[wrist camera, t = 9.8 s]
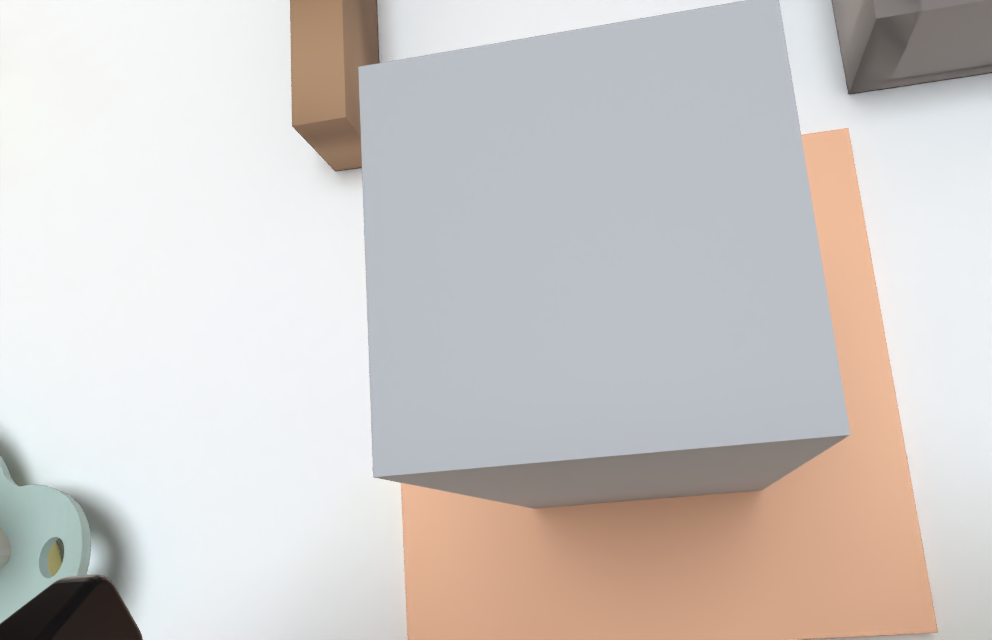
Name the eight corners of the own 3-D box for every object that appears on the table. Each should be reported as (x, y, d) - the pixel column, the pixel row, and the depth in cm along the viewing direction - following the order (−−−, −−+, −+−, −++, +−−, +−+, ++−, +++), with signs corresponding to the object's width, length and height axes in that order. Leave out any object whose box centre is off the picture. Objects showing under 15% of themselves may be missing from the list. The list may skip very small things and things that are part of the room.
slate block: (761, 490, 18) (850, 435, 8) (533, 508, 19) (373, 478, 9) (731, 269, 19) (778, -6, 9) (516, 295, 20) (358, 67, 10)
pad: (930, 629, 17) (938, 632, 17) (415, 656, 19) (408, 659, 18) (843, 138, 20) (848, 128, 19) (395, 202, 21) (388, 194, 21)
